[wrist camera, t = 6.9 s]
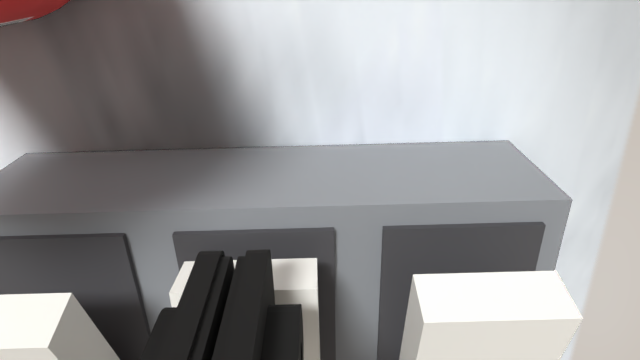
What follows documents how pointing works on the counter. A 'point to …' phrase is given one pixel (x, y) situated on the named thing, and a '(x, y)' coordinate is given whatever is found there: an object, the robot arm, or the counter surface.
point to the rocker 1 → (49, 329)
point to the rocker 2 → (282, 294)
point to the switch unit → (275, 227)
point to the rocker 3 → (489, 317)
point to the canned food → (26, 9)
